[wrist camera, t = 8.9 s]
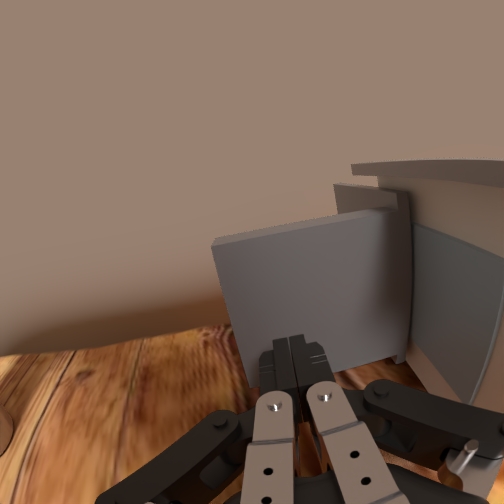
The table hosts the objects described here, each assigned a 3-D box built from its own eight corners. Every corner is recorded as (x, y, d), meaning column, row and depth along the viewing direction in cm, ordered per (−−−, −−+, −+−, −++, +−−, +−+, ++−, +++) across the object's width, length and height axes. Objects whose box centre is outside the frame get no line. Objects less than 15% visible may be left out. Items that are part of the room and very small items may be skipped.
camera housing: (447, 485, 7) (552, 164, 3) (358, 327, 24) (342, 165, 20) (551, 404, 6) (608, 168, 2) (441, 301, 23) (437, 156, 20)
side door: (252, 397, 17) (206, 228, 14) (253, 312, 30) (228, 203, 27) (405, 361, 16) (407, 191, 13) (353, 292, 29) (340, 182, 26)
